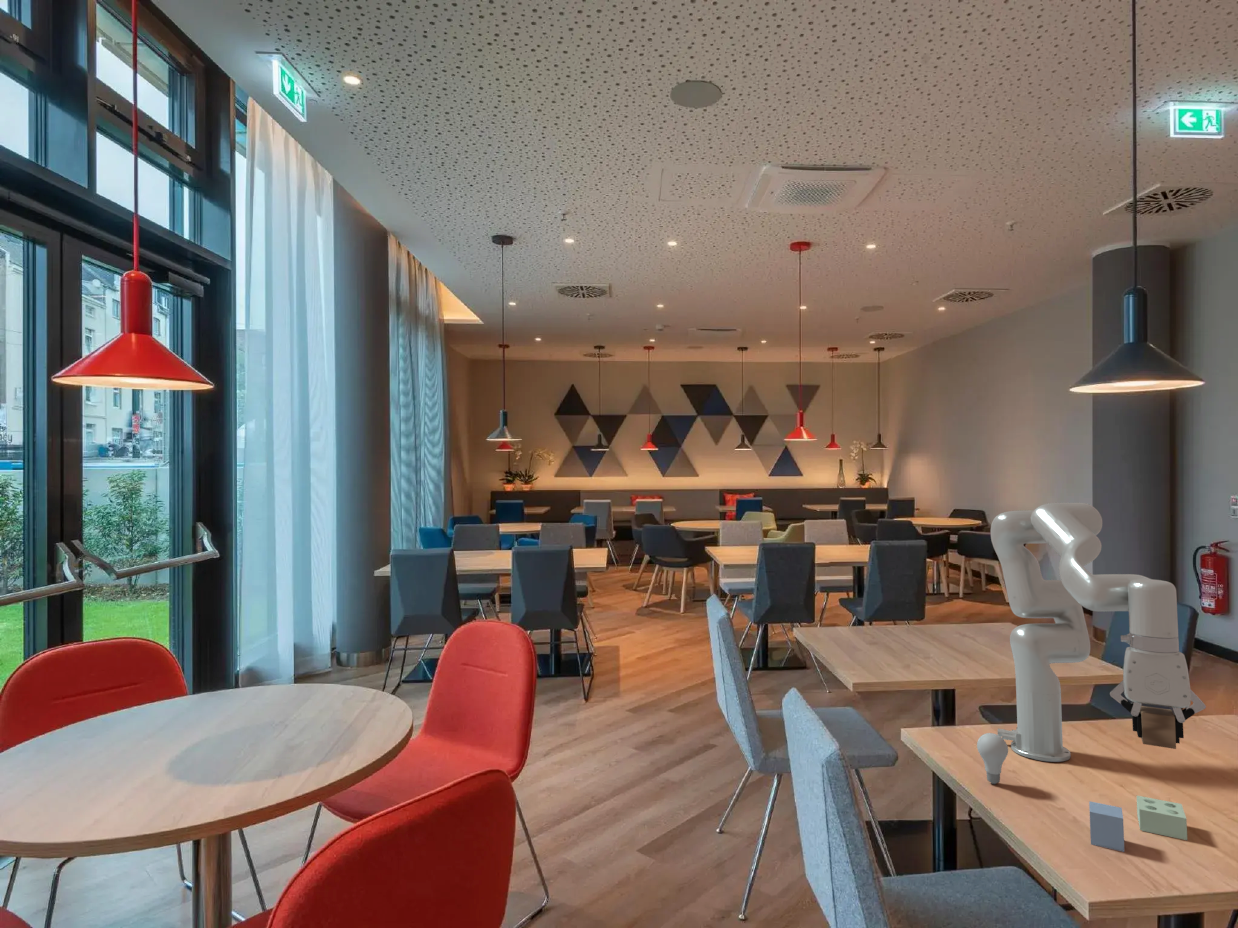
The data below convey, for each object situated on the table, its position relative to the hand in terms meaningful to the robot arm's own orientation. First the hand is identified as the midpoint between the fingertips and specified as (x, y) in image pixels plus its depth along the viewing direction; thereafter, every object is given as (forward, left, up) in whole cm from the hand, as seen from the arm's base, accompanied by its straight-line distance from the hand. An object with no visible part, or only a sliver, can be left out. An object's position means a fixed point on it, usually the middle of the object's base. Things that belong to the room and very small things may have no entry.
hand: (1157, 737), depth 133 cm
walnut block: (0, 0, -1) cm, 1 cm away
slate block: (-9, -12, -17) cm, 23 cm away
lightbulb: (-29, +5, -17) cm, 34 cm away
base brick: (0, 0, -17) cm, 17 cm away
